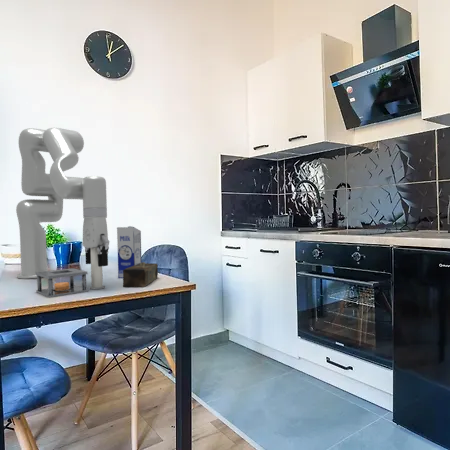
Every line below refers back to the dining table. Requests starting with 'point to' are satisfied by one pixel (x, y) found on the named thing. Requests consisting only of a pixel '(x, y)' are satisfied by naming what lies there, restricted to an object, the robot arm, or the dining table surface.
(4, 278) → the dining table surface
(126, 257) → the milk carton
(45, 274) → the guard frame
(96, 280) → the white tall block
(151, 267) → the dark brown box
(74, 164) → the robot arm
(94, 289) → the mat
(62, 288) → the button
